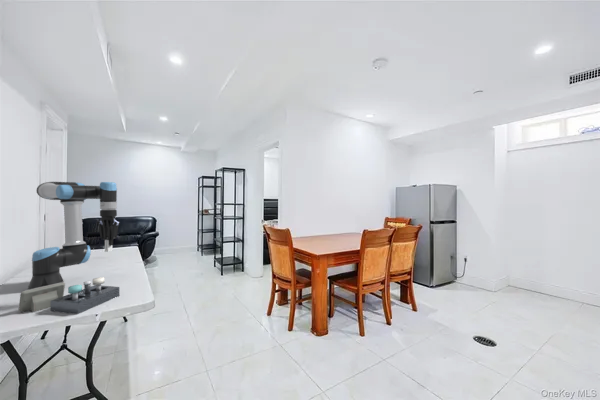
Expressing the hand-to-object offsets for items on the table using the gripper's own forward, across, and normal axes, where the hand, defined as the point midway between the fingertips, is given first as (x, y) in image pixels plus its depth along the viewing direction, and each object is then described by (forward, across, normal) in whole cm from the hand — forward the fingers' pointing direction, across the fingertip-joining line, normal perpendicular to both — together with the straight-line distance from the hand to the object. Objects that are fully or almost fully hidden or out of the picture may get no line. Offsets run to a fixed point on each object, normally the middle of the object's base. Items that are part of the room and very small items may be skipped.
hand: (108, 251), depth 142 cm
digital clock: (+25, -17, -20) cm, 36 cm away
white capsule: (+19, 0, -12) cm, 23 cm away
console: (+24, 0, -12) cm, 27 cm away
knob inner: (+21, 0, -6) cm, 22 cm away
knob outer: (+21, 0, -18) cm, 28 cm away
